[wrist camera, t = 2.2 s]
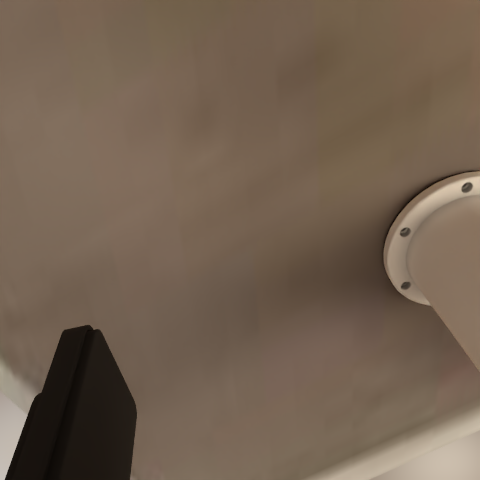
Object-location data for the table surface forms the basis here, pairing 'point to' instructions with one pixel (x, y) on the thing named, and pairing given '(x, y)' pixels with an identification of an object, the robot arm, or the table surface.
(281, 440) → the table surface
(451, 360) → the table surface
